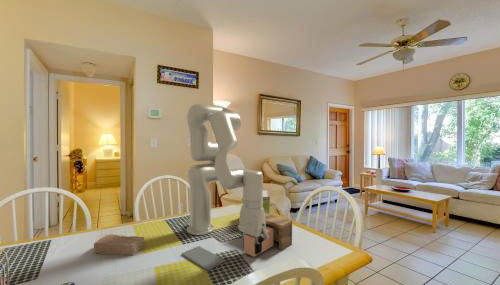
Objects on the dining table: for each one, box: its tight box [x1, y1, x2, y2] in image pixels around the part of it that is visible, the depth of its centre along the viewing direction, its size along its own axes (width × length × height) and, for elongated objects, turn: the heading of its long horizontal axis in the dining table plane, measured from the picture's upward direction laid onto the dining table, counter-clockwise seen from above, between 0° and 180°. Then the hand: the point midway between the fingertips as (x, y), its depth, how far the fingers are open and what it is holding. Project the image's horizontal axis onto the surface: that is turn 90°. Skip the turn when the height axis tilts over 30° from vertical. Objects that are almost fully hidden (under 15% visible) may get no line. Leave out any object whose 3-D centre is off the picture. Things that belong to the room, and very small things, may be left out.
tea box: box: [263, 189, 271, 214], centre depth 128 cm, size 15×10×15 cm
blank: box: [243, 226, 274, 257], centre depth 94 cm, size 5×12×7 cm, turn 138°
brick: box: [93, 233, 145, 256], centre depth 95 cm, size 17×8×5 cm, turn 85°
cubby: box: [265, 213, 293, 252], centre depth 104 cm, size 21×7×10 cm, turn 48°
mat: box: [181, 245, 226, 272], centre depth 88 cm, size 16×8×1 cm, turn 48°
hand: (252, 250), depth 91 cm, fingers closed on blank, 5 cm apart
